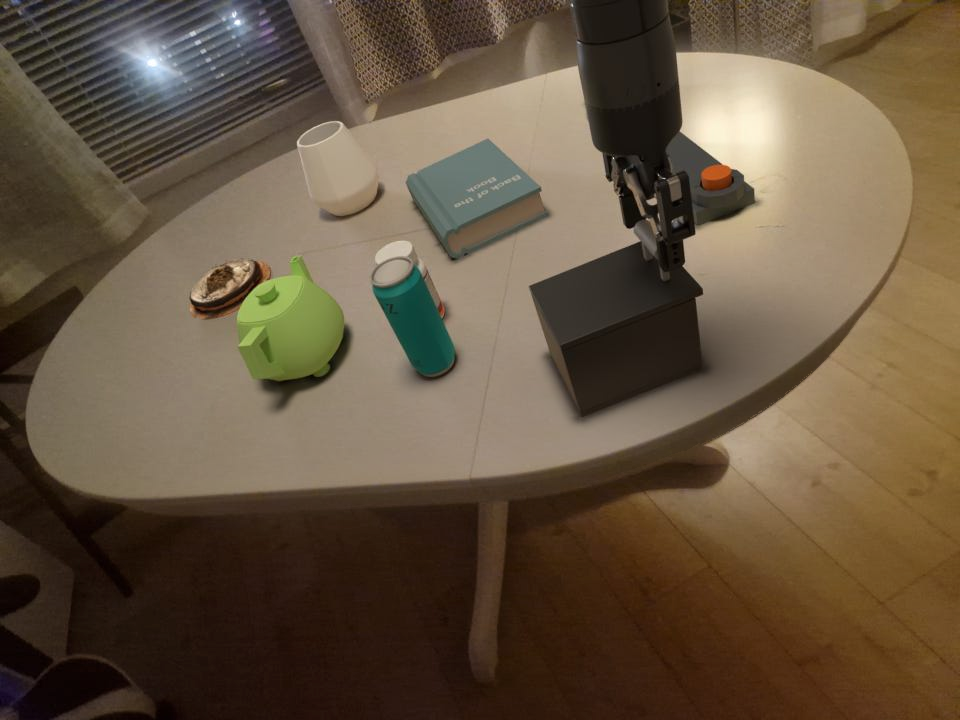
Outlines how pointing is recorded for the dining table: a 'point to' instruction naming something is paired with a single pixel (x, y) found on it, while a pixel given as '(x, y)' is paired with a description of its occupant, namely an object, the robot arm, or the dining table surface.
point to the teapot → (289, 327)
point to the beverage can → (413, 315)
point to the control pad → (703, 201)
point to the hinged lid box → (629, 357)
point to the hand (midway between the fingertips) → (653, 244)
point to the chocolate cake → (226, 287)
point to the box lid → (611, 291)
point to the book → (475, 198)
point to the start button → (716, 177)
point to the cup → (337, 169)
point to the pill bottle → (408, 250)
